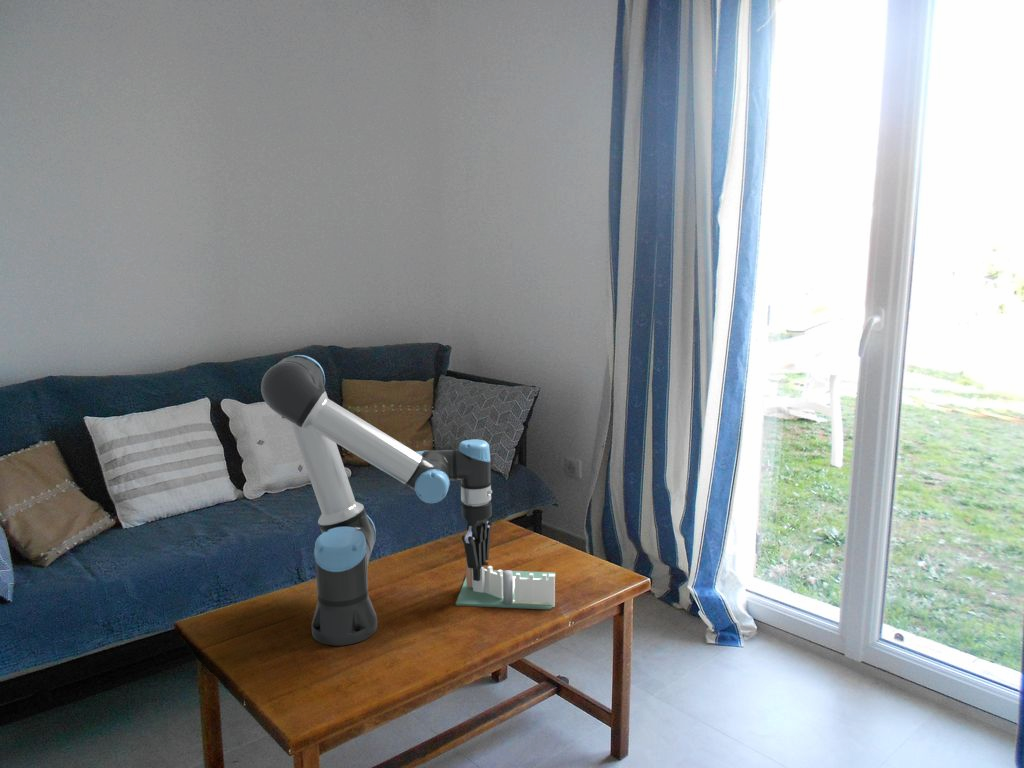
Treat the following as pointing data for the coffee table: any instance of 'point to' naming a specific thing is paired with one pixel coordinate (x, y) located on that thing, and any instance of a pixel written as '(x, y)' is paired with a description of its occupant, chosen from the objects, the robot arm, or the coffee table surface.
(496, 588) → the white crenellated wall
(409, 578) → the coffee table surface
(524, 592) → the fixed fence
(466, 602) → the board
